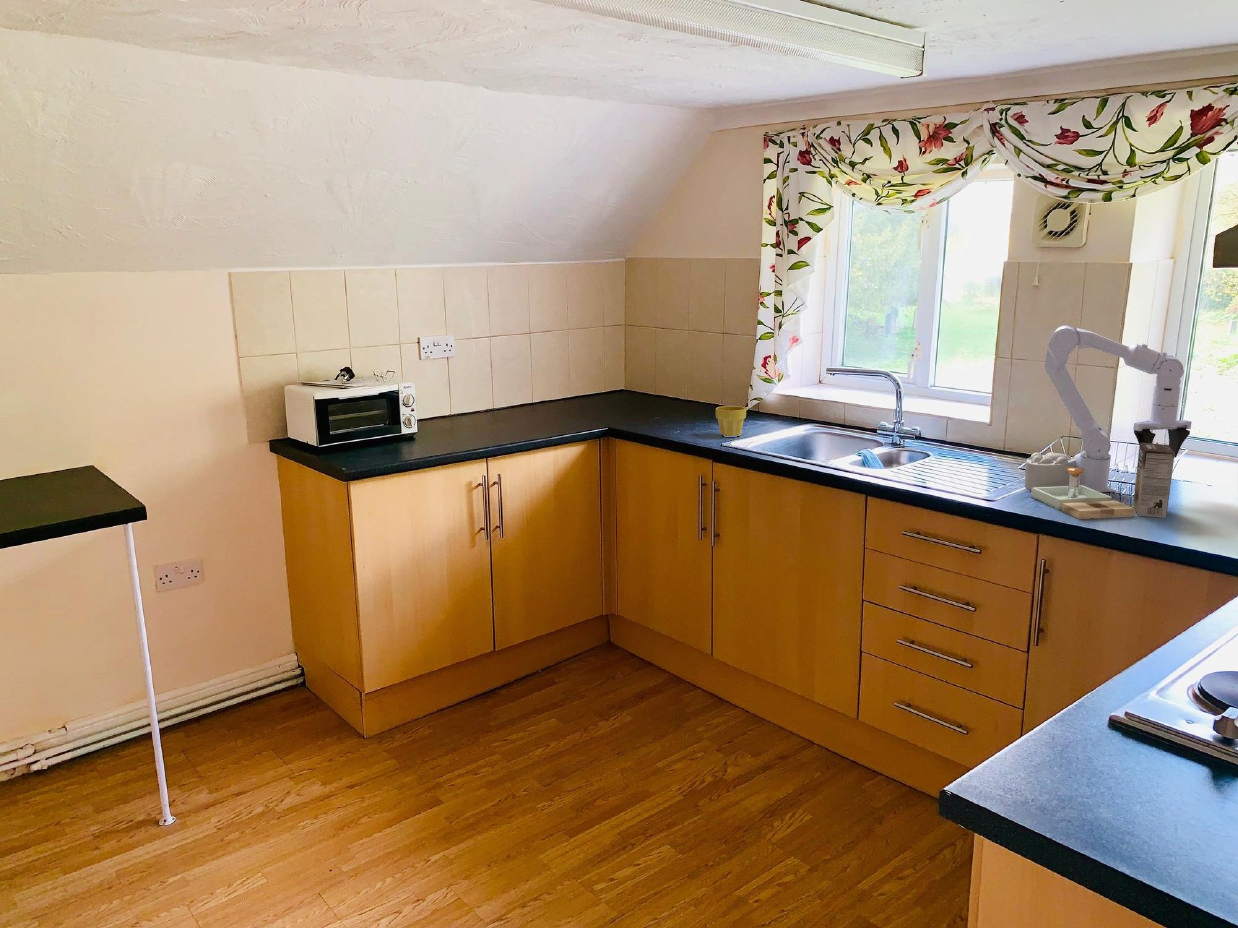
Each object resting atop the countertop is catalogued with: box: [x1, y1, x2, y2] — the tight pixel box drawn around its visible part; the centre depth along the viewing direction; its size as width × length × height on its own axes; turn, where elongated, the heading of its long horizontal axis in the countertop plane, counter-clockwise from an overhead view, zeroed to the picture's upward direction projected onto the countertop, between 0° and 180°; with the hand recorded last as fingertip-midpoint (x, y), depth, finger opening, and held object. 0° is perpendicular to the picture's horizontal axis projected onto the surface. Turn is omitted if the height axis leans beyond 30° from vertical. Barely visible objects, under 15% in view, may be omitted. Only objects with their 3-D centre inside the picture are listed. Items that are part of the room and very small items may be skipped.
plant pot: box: [715, 405, 747, 436], centre depth 323 cm, size 10×10×10 cm
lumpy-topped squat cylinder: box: [1024, 451, 1076, 491], centre depth 251 cm, size 10×13×9 cm
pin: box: [1067, 467, 1085, 498], centre depth 236 cm, size 4×4×8 cm
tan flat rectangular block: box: [1061, 500, 1136, 520], centre depth 227 cm, size 7×14×2 cm, turn 98°
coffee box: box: [1132, 442, 1175, 519], centre depth 226 cm, size 9×6×16 cm
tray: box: [1030, 485, 1113, 510], centre depth 237 cm, size 12×14×2 cm
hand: (1158, 457), depth 241 cm, fingers open, 7 cm apart
